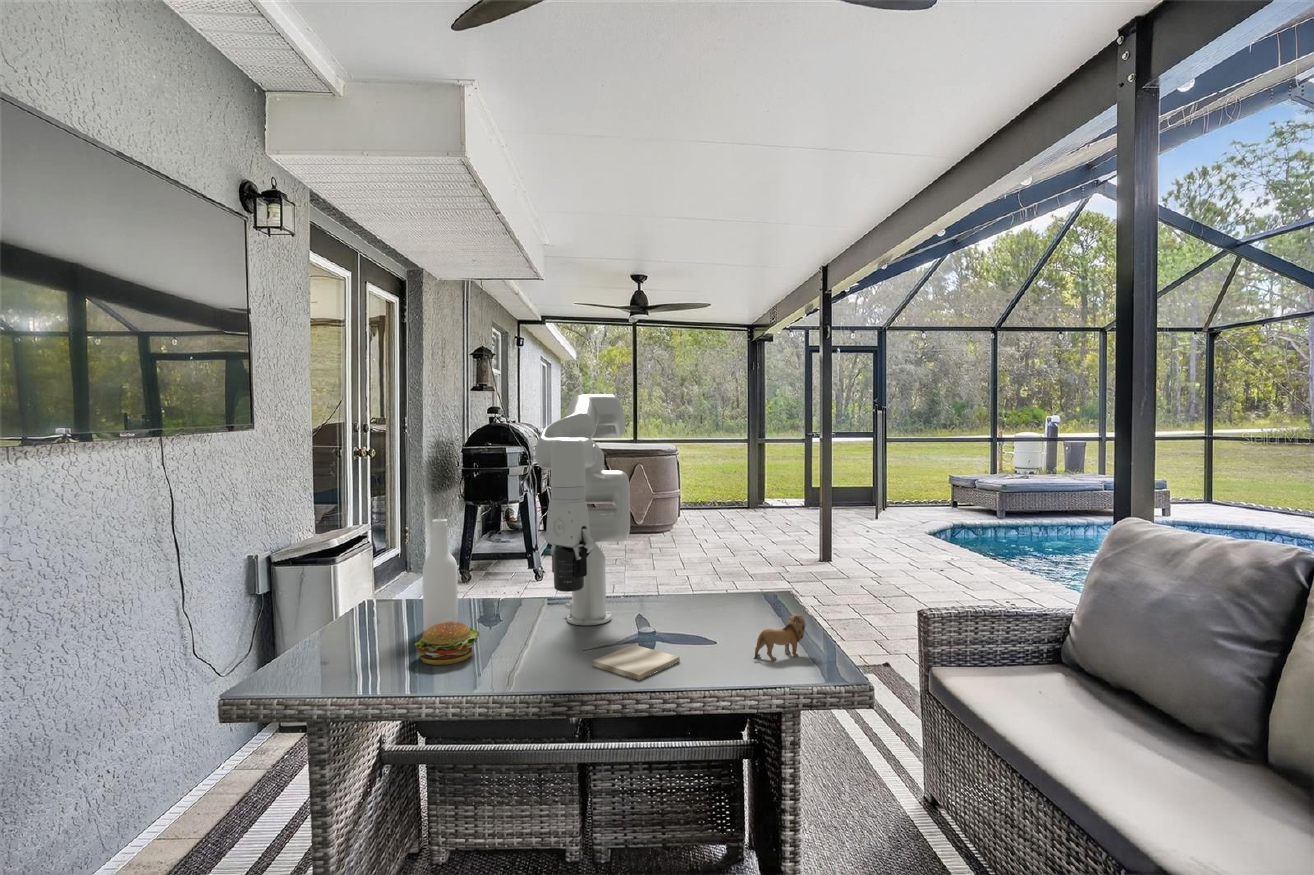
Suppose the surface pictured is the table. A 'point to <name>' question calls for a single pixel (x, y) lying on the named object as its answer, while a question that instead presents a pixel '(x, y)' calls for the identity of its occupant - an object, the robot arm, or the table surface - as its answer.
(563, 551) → the supplement bottle
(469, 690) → the table surface
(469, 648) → the food
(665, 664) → the birch board
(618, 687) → the table surface
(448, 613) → the alcohol
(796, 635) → the lion figurine
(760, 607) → the table surface
